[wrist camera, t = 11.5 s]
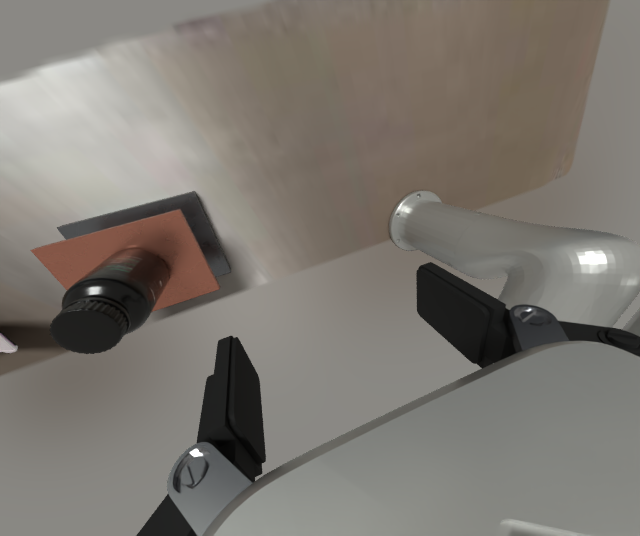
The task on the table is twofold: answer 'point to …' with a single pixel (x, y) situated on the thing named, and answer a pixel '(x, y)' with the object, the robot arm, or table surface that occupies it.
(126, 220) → the stand
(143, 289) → the supplement bottle
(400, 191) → the table surface
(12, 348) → the mobile phone
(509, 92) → the table surface
